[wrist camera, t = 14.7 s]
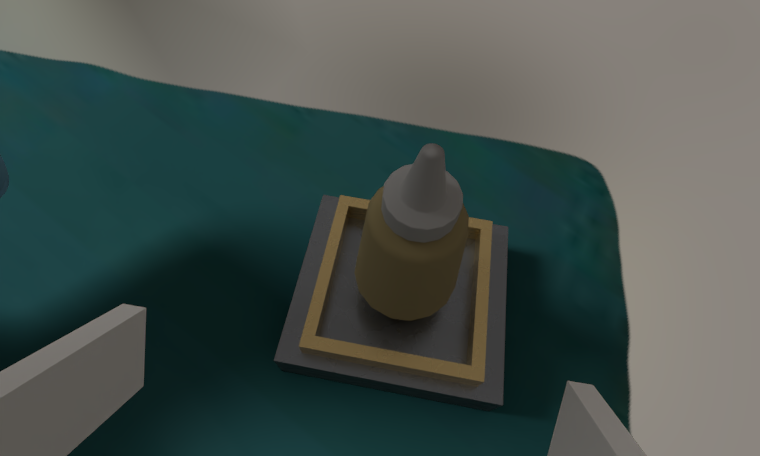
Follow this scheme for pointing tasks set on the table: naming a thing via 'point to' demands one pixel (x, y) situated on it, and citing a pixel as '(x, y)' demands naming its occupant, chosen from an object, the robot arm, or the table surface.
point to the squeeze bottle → (413, 239)
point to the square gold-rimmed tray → (393, 336)
